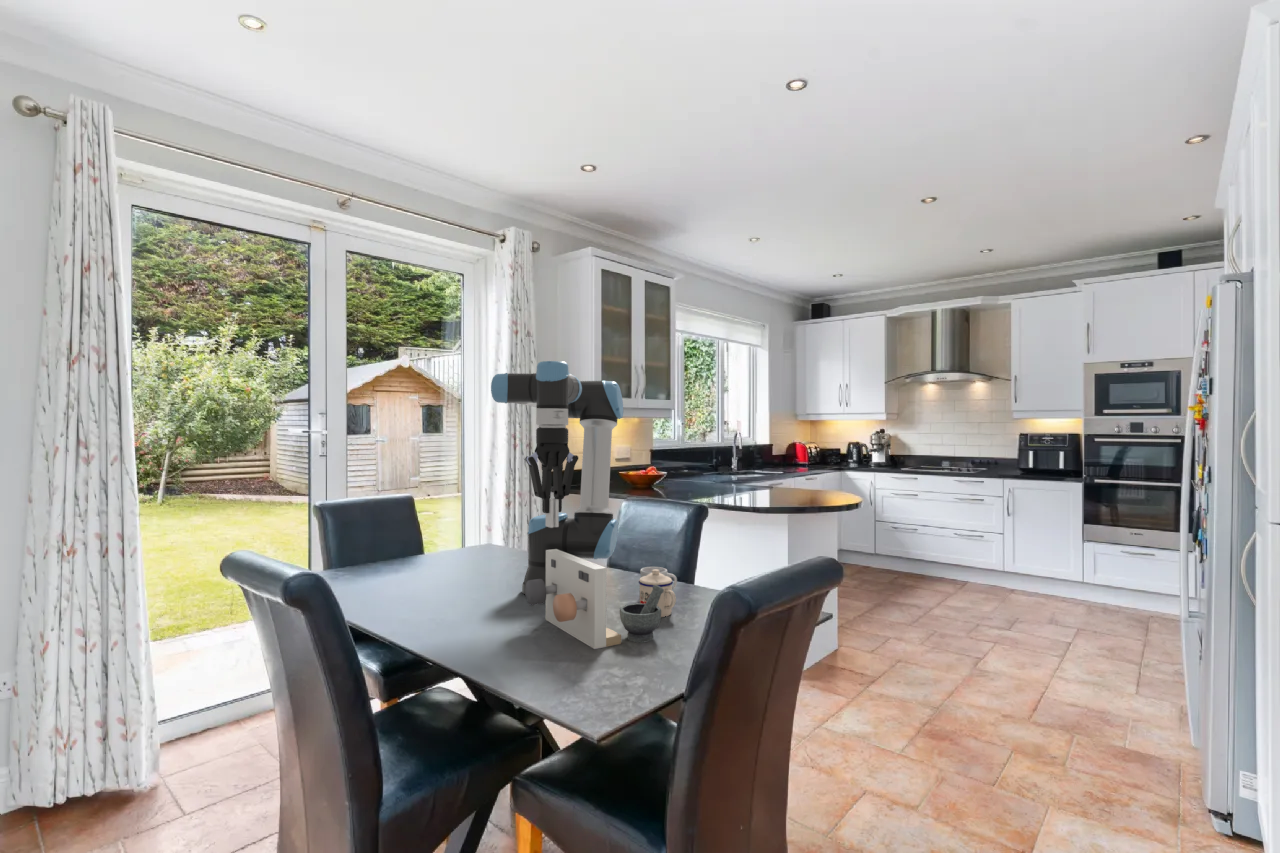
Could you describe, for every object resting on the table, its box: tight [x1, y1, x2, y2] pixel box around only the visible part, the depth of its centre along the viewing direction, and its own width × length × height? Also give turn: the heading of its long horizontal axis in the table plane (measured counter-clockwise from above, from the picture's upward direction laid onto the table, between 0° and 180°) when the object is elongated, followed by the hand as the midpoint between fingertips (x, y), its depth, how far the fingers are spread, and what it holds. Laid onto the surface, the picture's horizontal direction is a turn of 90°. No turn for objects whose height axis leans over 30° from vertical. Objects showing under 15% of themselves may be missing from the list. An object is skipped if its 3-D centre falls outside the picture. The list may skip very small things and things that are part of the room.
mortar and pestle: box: [619, 585, 664, 643], centre depth 156 cm, size 11×9×12 cm
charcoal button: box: [525, 579, 557, 606], centre depth 165 cm, size 10×6×6 cm, turn 123°
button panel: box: [545, 549, 622, 650], centre depth 161 cm, size 7×26×18 cm, turn 33°
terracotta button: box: [553, 593, 587, 622], centre depth 151 cm, size 10×6×6 cm, turn 123°
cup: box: [639, 566, 678, 591], centre depth 192 cm, size 11×8×8 cm
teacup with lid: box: [638, 569, 677, 618], centre depth 175 cm, size 12×9×12 cm
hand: (552, 526), depth 155 cm, fingers closed
